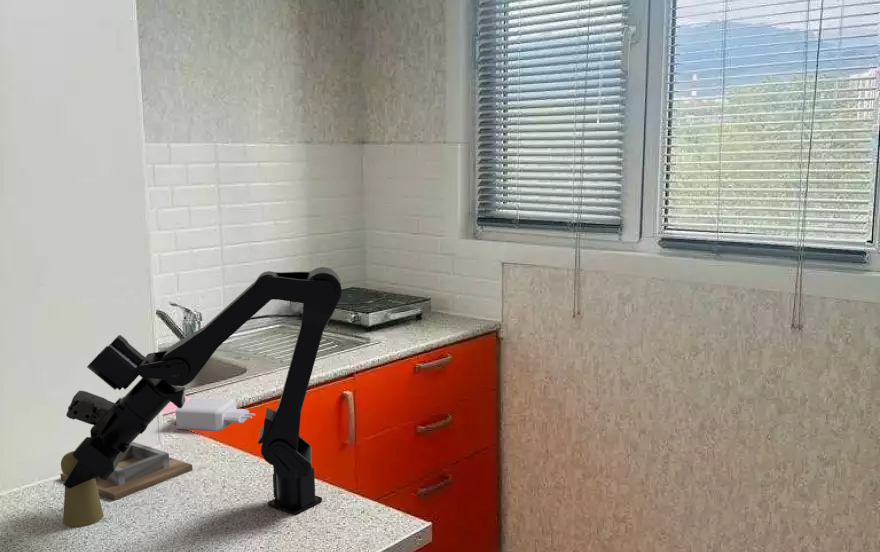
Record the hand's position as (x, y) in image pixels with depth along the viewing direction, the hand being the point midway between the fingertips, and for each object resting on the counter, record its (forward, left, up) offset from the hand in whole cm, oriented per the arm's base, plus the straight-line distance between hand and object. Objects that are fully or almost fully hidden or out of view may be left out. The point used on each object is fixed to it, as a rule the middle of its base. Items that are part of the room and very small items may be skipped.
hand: (70, 479), depth 138 cm
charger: (+17, -44, -7) cm, 47 cm away
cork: (-1, -1, -7) cm, 7 cm away
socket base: (+9, -16, -7) cm, 19 cm away
